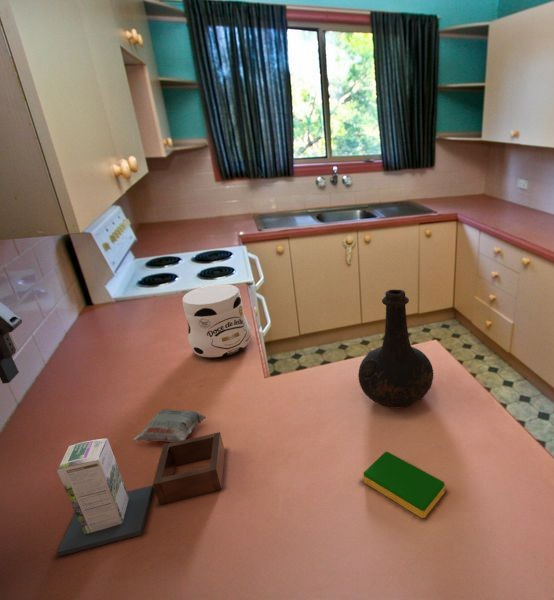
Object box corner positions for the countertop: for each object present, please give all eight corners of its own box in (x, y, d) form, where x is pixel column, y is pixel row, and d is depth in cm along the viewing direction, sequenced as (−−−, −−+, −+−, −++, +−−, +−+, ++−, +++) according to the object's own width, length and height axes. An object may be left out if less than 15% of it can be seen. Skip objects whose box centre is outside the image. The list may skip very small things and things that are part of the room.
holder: (159, 504, 77) (152, 484, 75) (169, 463, 86) (163, 444, 84) (221, 489, 80) (216, 469, 78) (224, 450, 89) (220, 432, 87)
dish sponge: (423, 519, 73) (423, 509, 72) (363, 482, 81) (362, 472, 80) (445, 492, 78) (445, 482, 77) (386, 459, 86) (386, 450, 85)
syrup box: (93, 508, 76) (65, 445, 70) (131, 498, 78) (107, 435, 72) (84, 535, 71) (53, 470, 65) (124, 524, 73) (98, 459, 67)
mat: (59, 556, 69) (56, 552, 68) (81, 506, 77) (79, 502, 77) (142, 534, 72) (140, 530, 71) (154, 489, 81) (152, 485, 80)
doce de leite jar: (235, 365, 120) (222, 307, 113) (179, 361, 123) (164, 305, 115) (262, 336, 136) (253, 283, 128) (213, 333, 138) (201, 281, 131)
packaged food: (186, 451, 89) (180, 432, 87) (135, 447, 91) (128, 428, 89) (208, 424, 97) (204, 406, 95) (161, 420, 99) (155, 403, 97)
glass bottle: (349, 387, 109) (340, 286, 97) (411, 368, 116) (409, 272, 105) (379, 429, 94) (372, 315, 83) (447, 404, 101) (449, 297, 90)
